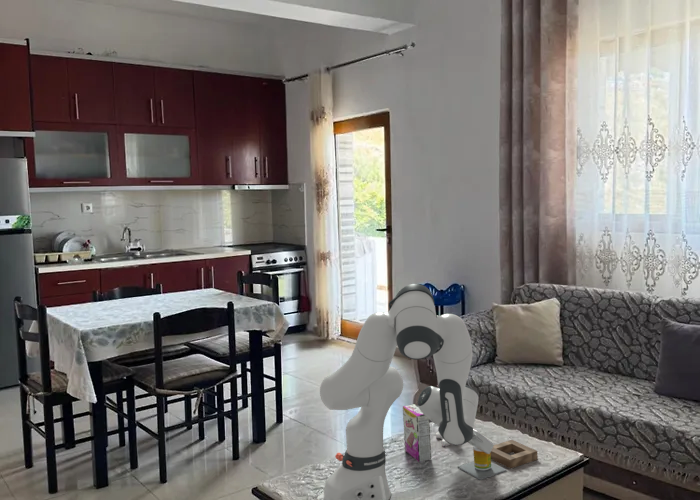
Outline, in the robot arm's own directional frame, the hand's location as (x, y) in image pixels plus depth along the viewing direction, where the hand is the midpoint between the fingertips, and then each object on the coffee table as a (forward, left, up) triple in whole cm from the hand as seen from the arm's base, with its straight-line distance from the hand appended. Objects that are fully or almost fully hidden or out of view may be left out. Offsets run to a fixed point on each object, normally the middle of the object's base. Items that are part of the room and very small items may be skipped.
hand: (483, 447), depth 214 cm
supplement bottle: (0, 0, -7) cm, 7 cm away
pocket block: (+13, +1, -7) cm, 15 cm away
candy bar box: (-11, +21, -7) cm, 25 cm away
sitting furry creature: (+6, +25, -7) cm, 27 cm away
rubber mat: (-1, 0, -7) cm, 7 cm away
